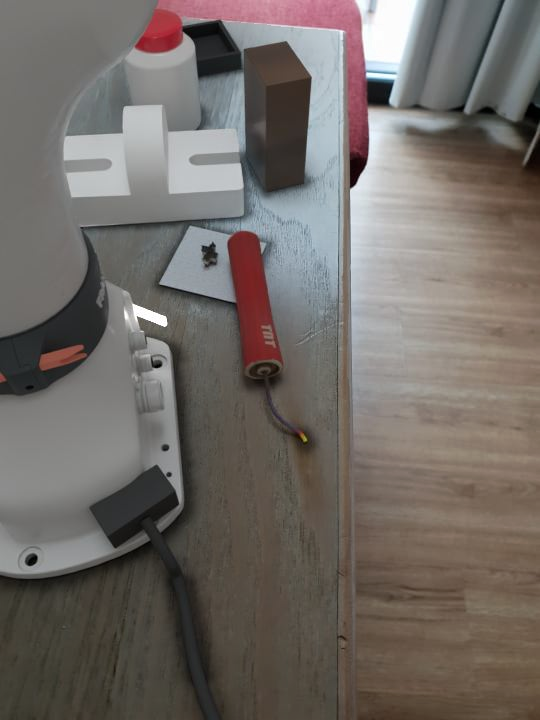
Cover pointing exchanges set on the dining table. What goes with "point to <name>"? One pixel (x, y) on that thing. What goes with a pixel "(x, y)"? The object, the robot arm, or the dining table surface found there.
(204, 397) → the dining table surface
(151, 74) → the pill bottle
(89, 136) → the slotted mounting bracket
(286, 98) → the dark brown tall block
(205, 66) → the dark rectangular tray
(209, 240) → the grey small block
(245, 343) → the dynamite stick
